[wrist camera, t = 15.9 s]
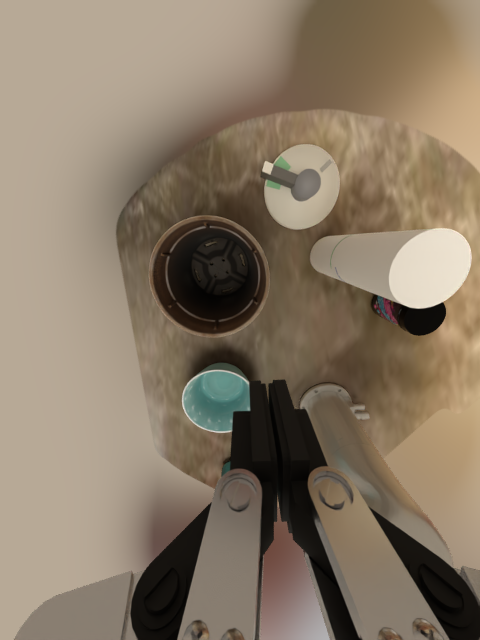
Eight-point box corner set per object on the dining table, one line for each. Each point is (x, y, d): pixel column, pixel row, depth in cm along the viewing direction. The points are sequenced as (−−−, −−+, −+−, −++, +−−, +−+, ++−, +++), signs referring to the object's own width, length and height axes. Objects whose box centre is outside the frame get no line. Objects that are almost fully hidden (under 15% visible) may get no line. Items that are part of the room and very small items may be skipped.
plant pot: (273, 285, 46) (289, 307, 30) (206, 319, 48) (190, 355, 33) (237, 208, 41) (234, 188, 26) (164, 250, 44) (123, 255, 28)
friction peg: (318, 180, 38) (325, 174, 34) (308, 204, 39) (314, 201, 36) (265, 159, 37) (268, 151, 34) (257, 185, 38) (259, 180, 35)
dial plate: (339, 145, 38) (344, 141, 36) (332, 227, 42) (336, 227, 40) (263, 150, 38) (264, 146, 36) (264, 231, 42) (265, 231, 41)
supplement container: (385, 279, 45) (425, 289, 35) (409, 295, 46) (455, 310, 36) (363, 306, 47) (395, 323, 37) (386, 321, 48) (424, 342, 38)
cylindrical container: (319, 280, 45) (402, 321, 22) (303, 248, 43) (377, 256, 20) (352, 261, 44) (479, 284, 20) (338, 228, 42) (460, 210, 18)
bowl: (195, 345, 50) (187, 363, 43) (262, 358, 51) (265, 379, 44) (186, 400, 56) (177, 425, 48) (247, 411, 57) (247, 438, 49)
